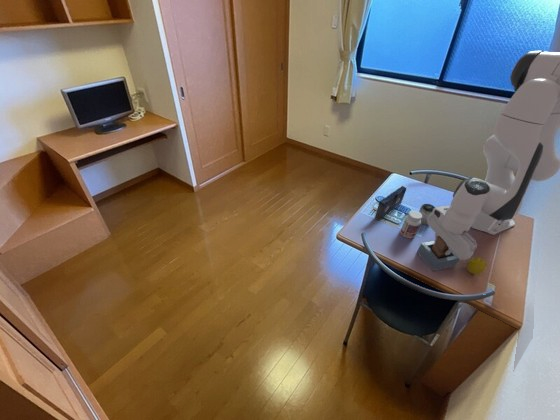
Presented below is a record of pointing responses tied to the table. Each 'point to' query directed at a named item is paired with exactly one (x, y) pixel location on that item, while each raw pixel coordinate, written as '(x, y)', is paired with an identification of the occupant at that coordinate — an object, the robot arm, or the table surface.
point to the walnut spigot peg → (439, 248)
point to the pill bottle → (411, 224)
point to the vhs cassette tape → (390, 202)
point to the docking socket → (433, 260)
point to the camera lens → (426, 212)
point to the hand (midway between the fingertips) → (441, 248)
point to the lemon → (476, 265)
